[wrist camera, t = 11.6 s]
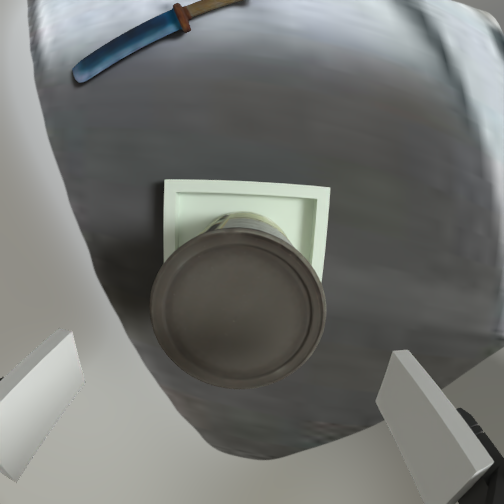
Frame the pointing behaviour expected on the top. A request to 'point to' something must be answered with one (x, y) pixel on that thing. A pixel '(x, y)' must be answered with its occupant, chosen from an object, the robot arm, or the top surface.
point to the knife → (143, 36)
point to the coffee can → (238, 304)
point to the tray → (251, 200)
